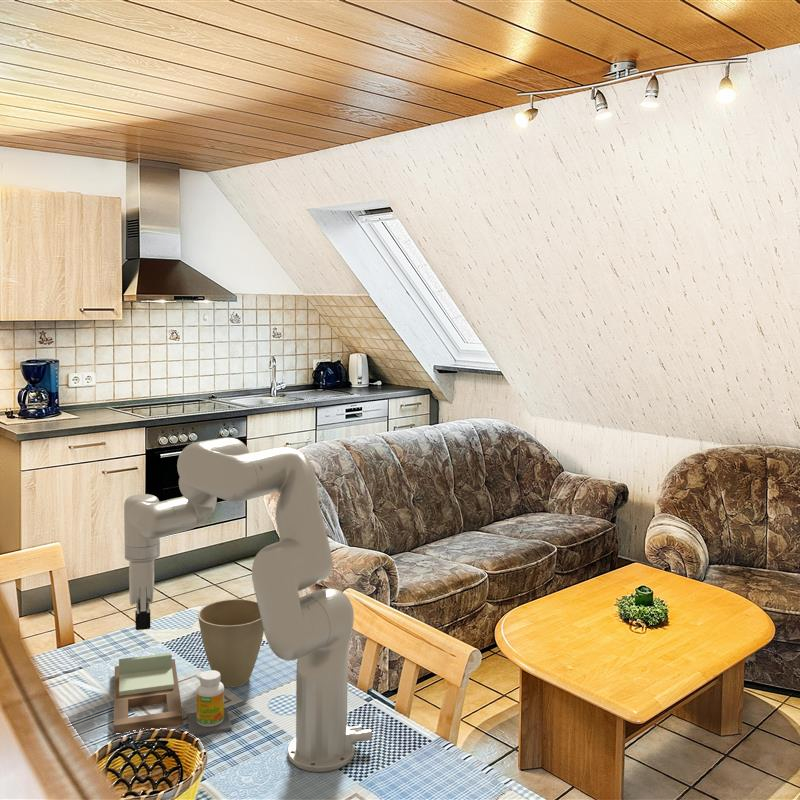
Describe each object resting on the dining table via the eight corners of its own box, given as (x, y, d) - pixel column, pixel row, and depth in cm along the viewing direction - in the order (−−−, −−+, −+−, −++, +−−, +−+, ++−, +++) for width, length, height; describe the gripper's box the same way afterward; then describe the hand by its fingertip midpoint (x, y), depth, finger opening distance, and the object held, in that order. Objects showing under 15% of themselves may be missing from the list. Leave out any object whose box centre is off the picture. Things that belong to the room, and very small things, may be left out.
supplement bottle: (196, 729, 156) (196, 682, 155) (196, 715, 161) (195, 669, 160) (224, 725, 157) (224, 679, 156) (223, 712, 162) (223, 667, 161)
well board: (174, 667, 183) (174, 658, 182) (182, 724, 158) (182, 715, 158) (114, 674, 178) (114, 666, 178) (113, 735, 154) (113, 725, 154)
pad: (226, 710, 164) (226, 707, 164) (231, 730, 157) (231, 727, 157) (187, 716, 162) (186, 713, 161) (190, 736, 154) (190, 734, 154)
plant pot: (186, 691, 172) (185, 620, 170) (217, 661, 186) (217, 596, 184) (250, 700, 168) (249, 628, 166) (277, 669, 183) (277, 603, 181)
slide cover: (171, 669, 177) (171, 652, 176) (174, 688, 169) (173, 670, 168) (119, 676, 173) (118, 659, 173) (119, 696, 165) (118, 677, 164)
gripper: (124, 541, 183) (125, 616, 185) (124, 562, 169) (125, 644, 171) (158, 538, 185) (158, 613, 188) (161, 560, 171) (161, 640, 174)
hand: (143, 628), depth 180 cm, fingers closed
